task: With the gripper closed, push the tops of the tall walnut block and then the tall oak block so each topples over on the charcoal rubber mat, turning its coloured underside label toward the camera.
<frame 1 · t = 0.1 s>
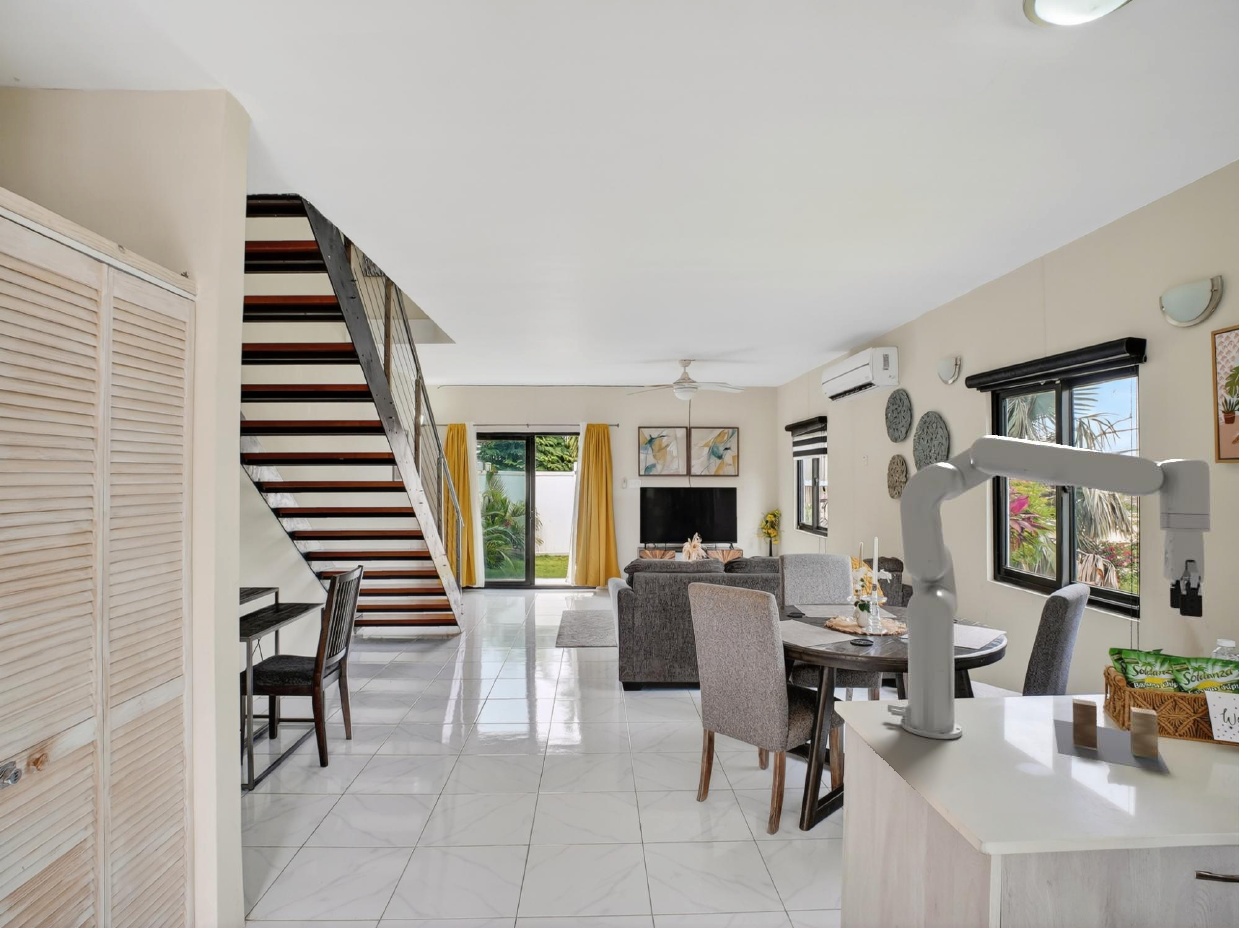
hand: (1185, 612, 131), 31 cm above the table, fingers open, 9 cm apart
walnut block: (1084, 745, 143), resting on rubber mat
oak block: (1144, 755, 138), resting on rubber mat
rubber mat: (1105, 745, 145), on the table
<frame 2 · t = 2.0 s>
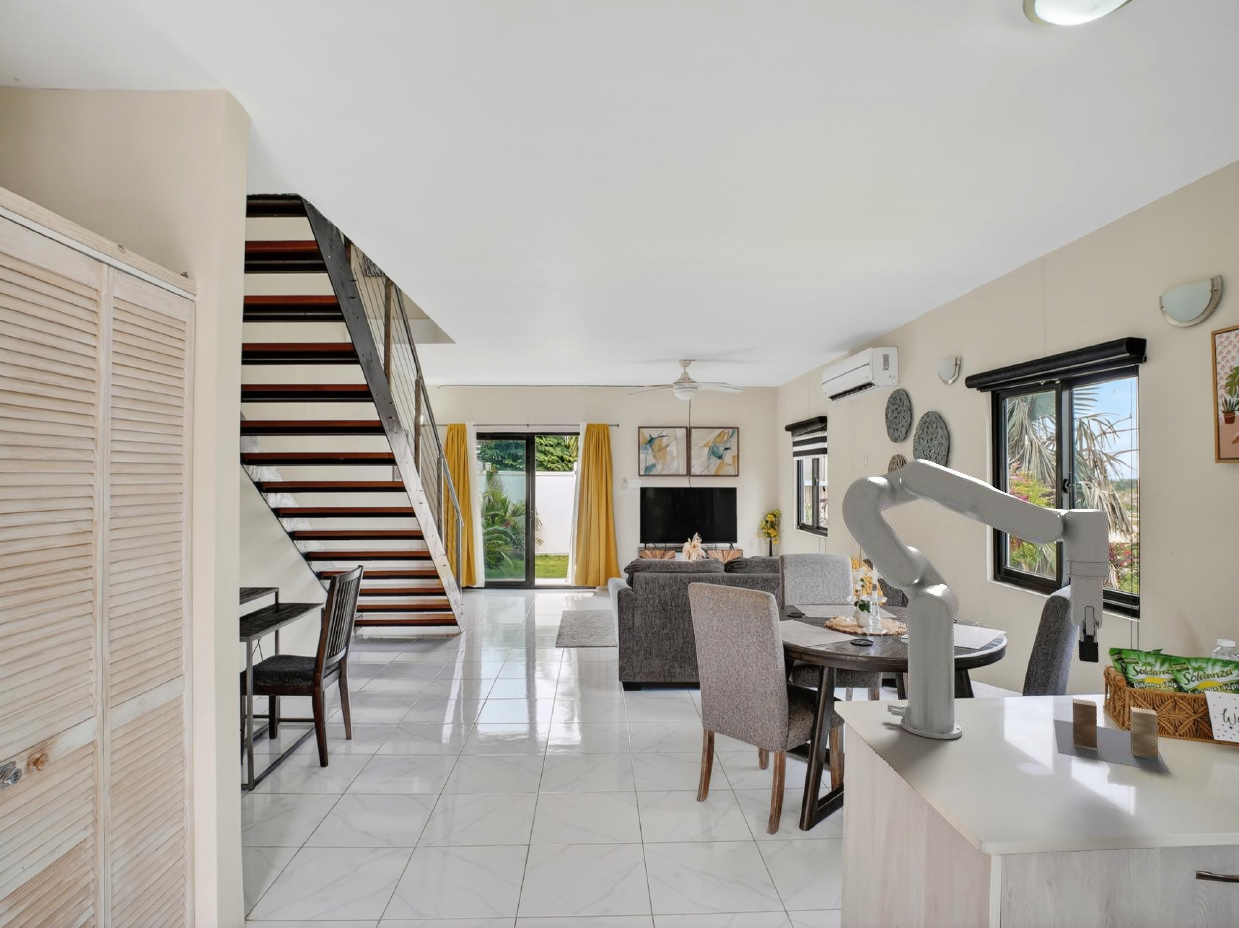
hand: (1088, 660, 138), 20 cm above the table, fingers closed
nothing on the table moved.
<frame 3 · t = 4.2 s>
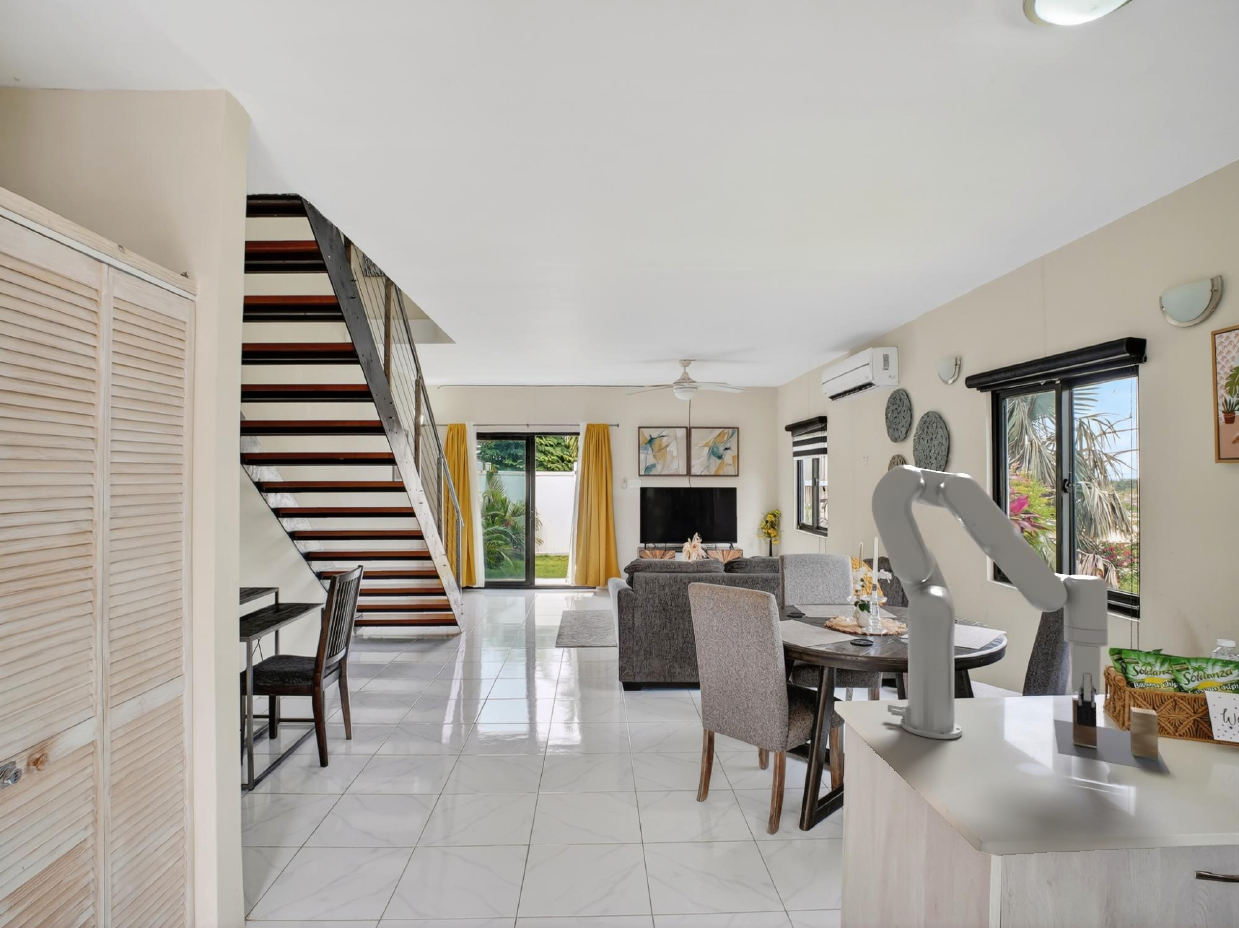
hand: (1086, 724, 141), 6 cm above the table, fingers closed
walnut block: (1084, 744, 143), point 1 cm above the table, tilted 7°, touching gripper, rubber mat
everything else where it was.
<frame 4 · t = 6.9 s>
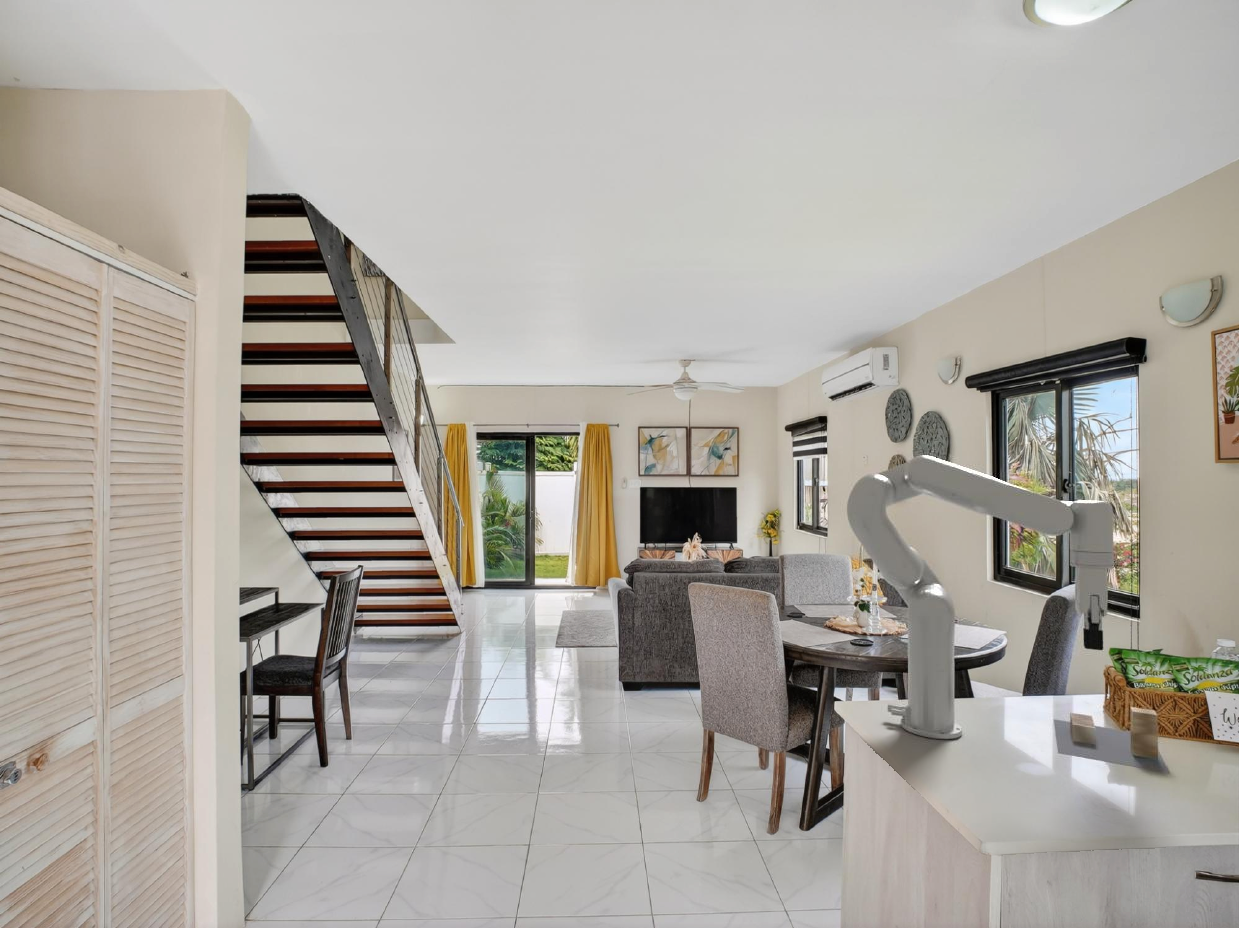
hand: (1093, 648, 141), 21 cm above the table, fingers closed
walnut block: (1083, 734, 145), point 2 cm above the table, tilted 90°, touching rubber mat
everything else where it was.
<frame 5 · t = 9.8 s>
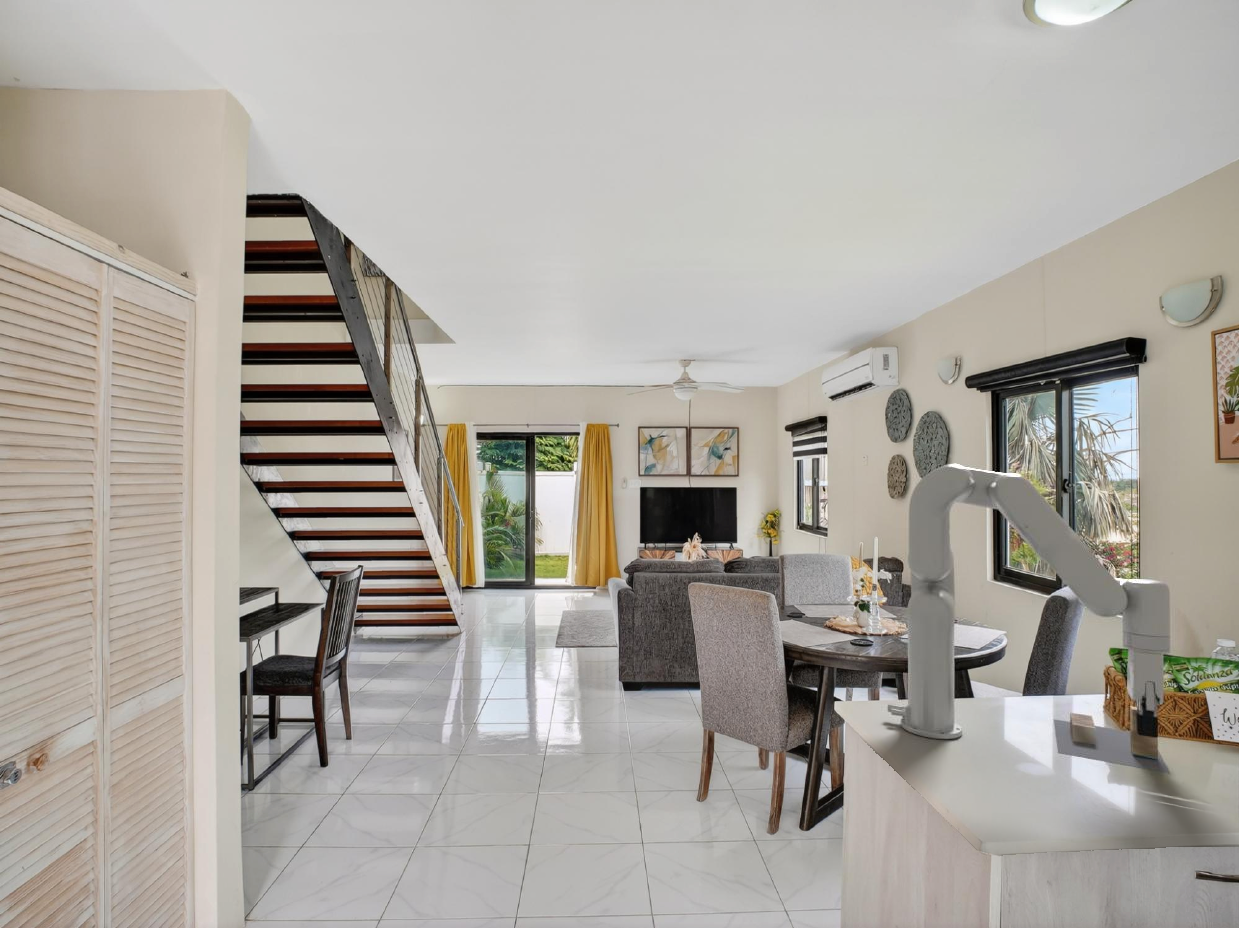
hand: (1147, 734, 135), 6 cm above the table, fingers closed
oak block: (1144, 755, 138), point 1 cm above the table, touching gripper, rubber mat
everything else where it was.
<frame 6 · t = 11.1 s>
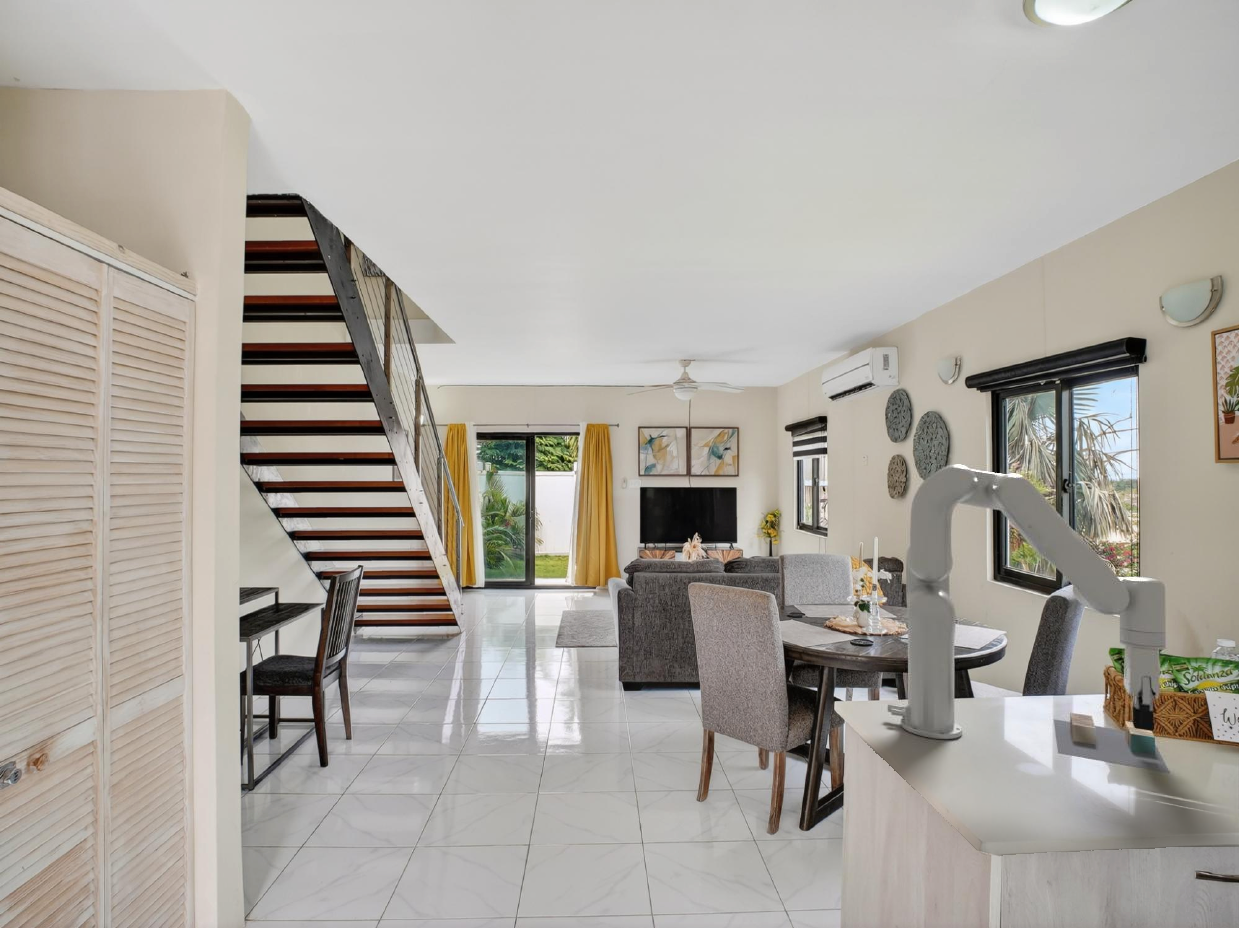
hand: (1143, 728, 139), 6 cm above the table, fingers closed
oak block: (1142, 744, 140), point 2 cm above the table, tilted 90°, touching rubber mat
everything else where it was.
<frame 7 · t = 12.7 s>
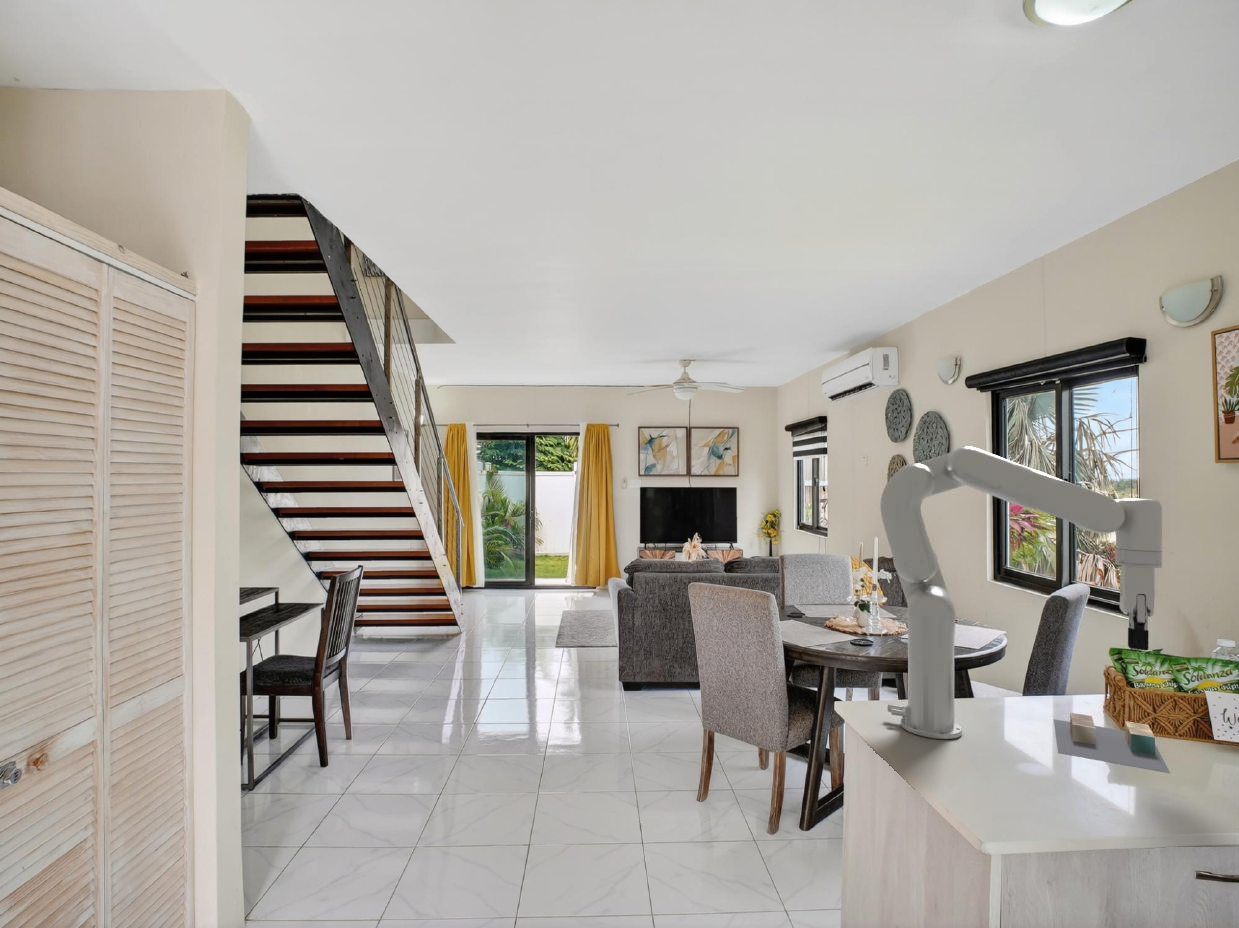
hand: (1138, 648, 139), 22 cm above the table, fingers closed
nothing on the table moved.
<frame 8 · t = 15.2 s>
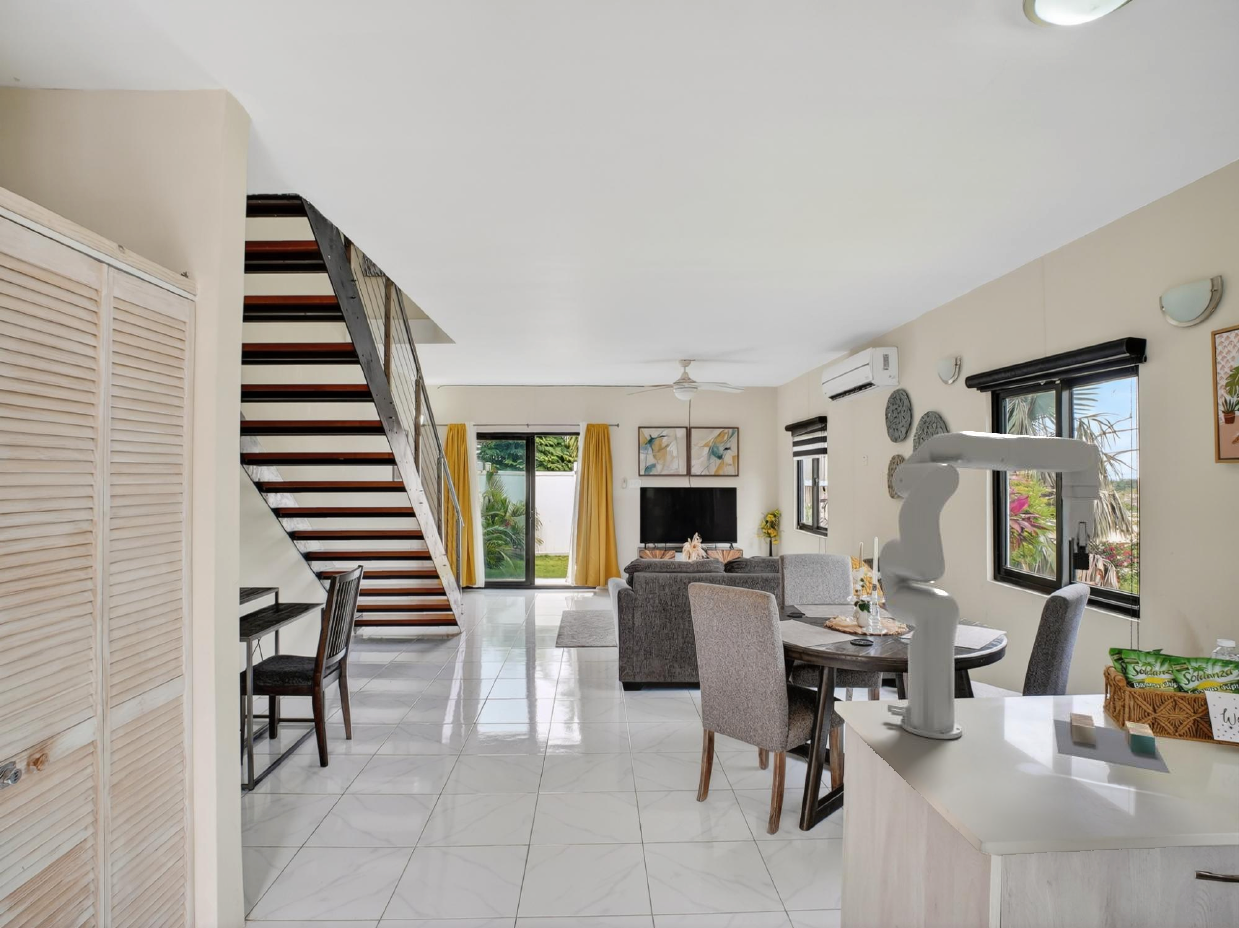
hand: (1081, 569, 164), 35 cm above the table, fingers closed
nothing on the table moved.
at the end: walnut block tilted 90°; oak block tilted 90°; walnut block inside the target area (4.8 cm from its centre), point 2.1 cm above the table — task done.
